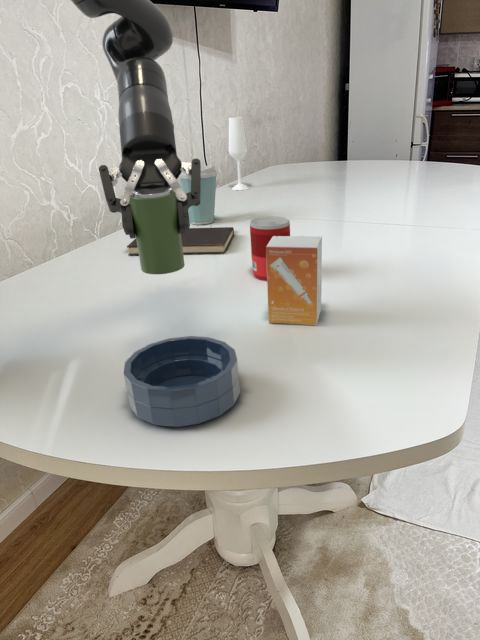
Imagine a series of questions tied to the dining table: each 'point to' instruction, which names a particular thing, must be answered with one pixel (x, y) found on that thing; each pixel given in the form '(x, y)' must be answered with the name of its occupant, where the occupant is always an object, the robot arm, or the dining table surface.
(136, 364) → the bowl
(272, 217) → the canned food
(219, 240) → the hardcover book
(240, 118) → the champagne flute
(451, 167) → the dining table surface
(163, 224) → the slim can
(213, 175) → the disposable coffee cup
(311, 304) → the small box
